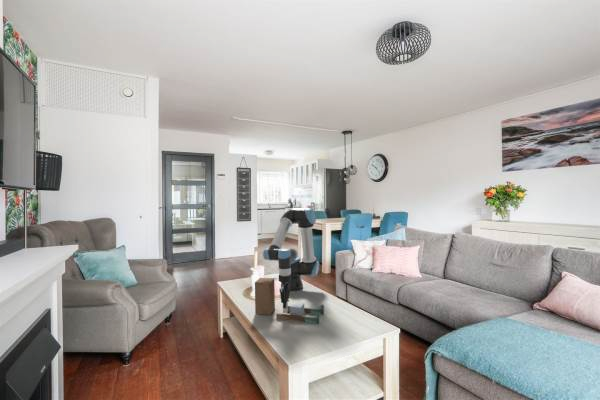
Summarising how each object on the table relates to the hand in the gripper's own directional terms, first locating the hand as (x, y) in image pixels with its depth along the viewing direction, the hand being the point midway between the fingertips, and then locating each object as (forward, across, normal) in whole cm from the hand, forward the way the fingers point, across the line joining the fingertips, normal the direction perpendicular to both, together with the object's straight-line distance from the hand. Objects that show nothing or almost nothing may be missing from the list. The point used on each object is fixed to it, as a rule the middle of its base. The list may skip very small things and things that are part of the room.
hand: (285, 312), depth 174 cm
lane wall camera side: (+1, +6, +10) cm, 12 cm away
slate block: (+2, 0, +8) cm, 8 cm away
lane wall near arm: (+1, -6, +10) cm, 12 cm away
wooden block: (+2, -2, -14) cm, 15 cm away
